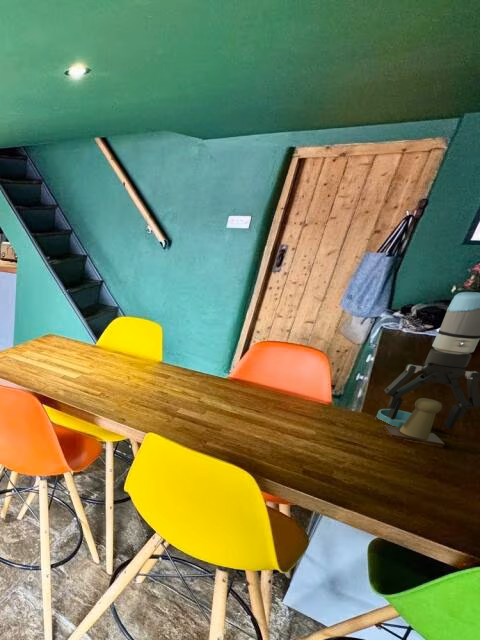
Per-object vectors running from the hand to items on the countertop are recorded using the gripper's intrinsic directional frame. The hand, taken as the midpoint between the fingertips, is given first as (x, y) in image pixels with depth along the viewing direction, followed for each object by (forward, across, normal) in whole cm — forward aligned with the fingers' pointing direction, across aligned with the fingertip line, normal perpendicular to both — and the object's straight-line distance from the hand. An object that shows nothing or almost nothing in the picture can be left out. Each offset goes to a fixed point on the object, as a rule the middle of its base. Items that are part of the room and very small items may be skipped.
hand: (418, 422), depth 117 cm
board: (+5, 0, 0) cm, 5 cm away
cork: (+4, 0, 0) cm, 4 cm away
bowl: (+5, 0, +10) cm, 11 cm away
